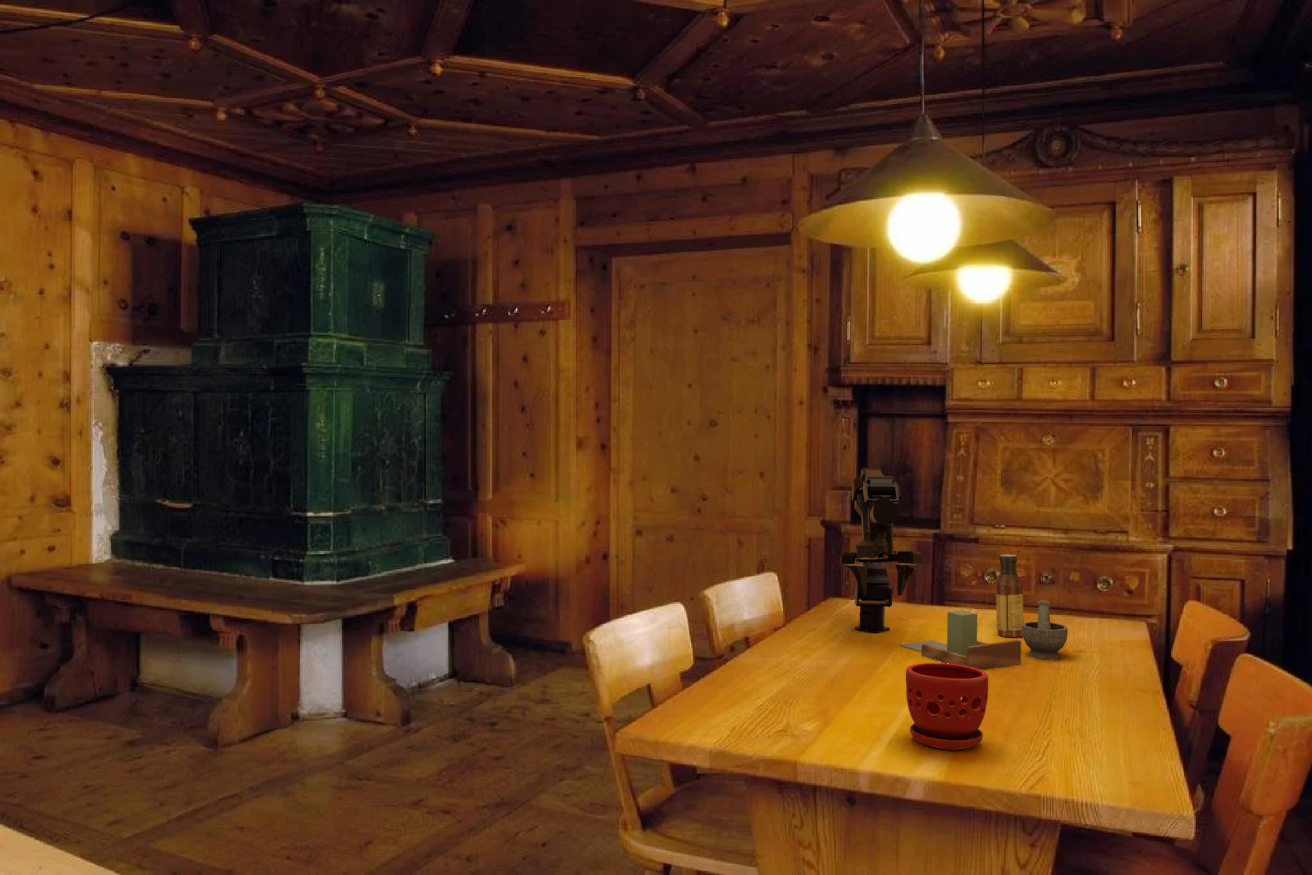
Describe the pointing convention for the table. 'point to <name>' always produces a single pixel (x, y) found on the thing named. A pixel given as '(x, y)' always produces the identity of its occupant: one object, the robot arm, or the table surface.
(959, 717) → the plant pot
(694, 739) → the table surface
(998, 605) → the sauce bottle
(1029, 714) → the table surface
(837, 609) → the table surface
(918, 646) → the felt mat
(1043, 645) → the mortar and pestle
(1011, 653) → the frame
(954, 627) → the green block
